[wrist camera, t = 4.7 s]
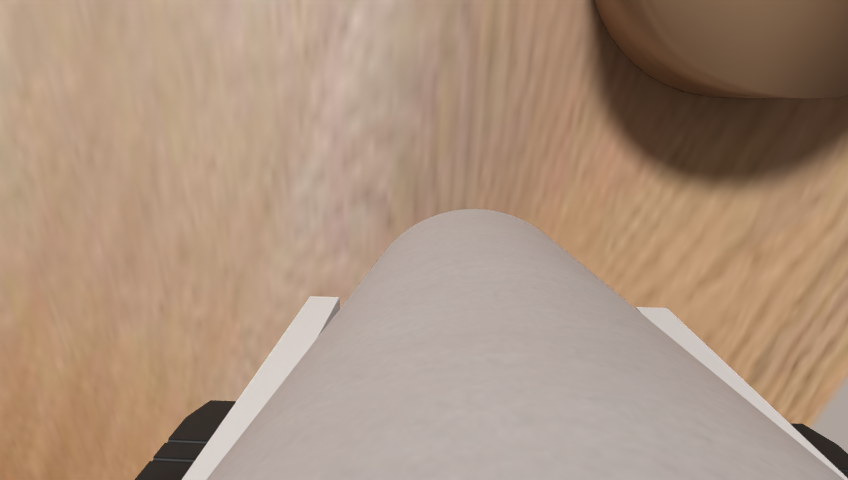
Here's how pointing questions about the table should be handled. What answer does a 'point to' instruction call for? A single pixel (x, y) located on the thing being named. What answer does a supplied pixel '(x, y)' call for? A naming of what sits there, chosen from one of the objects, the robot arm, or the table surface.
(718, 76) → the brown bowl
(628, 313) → the coffee cup
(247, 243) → the table surface
